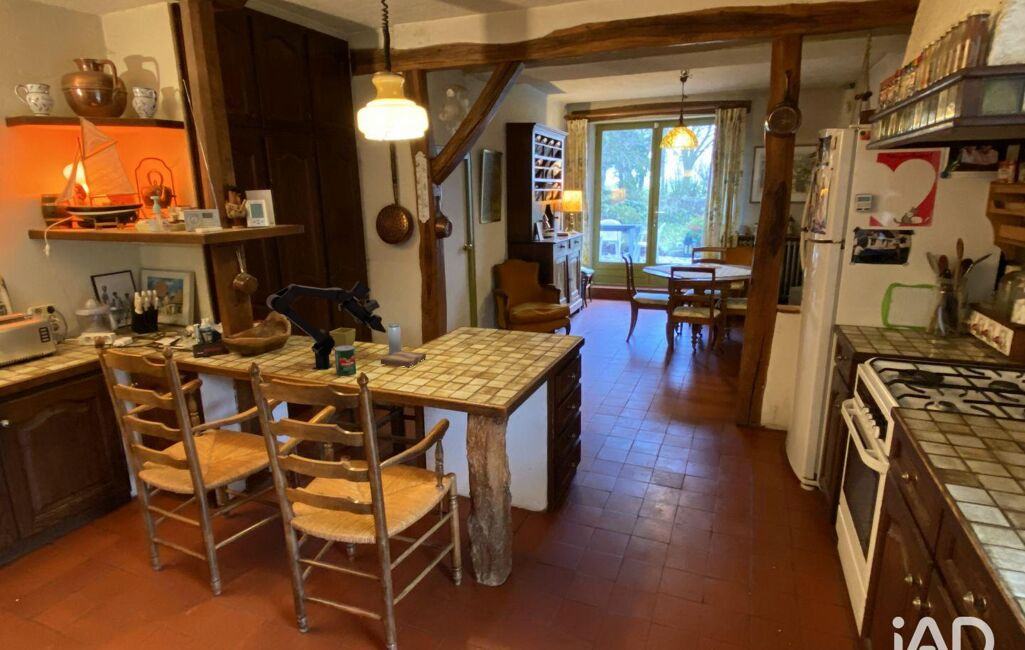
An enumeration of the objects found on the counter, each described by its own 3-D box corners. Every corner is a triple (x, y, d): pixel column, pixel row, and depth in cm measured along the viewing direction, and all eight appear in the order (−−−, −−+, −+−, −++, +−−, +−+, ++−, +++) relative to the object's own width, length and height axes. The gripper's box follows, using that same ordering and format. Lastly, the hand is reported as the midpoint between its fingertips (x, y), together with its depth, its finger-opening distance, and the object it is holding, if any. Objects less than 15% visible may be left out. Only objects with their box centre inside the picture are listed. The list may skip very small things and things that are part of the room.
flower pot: (346, 351, 264) (345, 333, 262) (330, 350, 266) (329, 331, 264) (357, 347, 272) (356, 328, 270) (341, 345, 275) (340, 327, 273)
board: (409, 368, 238) (409, 362, 238) (380, 364, 243) (380, 358, 243) (426, 359, 251) (425, 353, 251) (398, 356, 256) (398, 350, 256)
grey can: (399, 356, 257) (398, 326, 254) (387, 355, 257) (386, 326, 254) (403, 352, 262) (401, 323, 259) (391, 352, 262) (389, 323, 259)
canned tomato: (346, 378, 226) (344, 351, 224) (331, 375, 230) (329, 348, 227) (360, 372, 233) (358, 346, 230) (346, 369, 236) (344, 344, 234)
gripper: (376, 297, 239) (401, 319, 248) (358, 291, 254) (383, 312, 262) (359, 318, 236) (385, 339, 245) (342, 311, 251) (368, 331, 260)
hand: (381, 330), depth 253 cm, fingers open, 9 cm apart
